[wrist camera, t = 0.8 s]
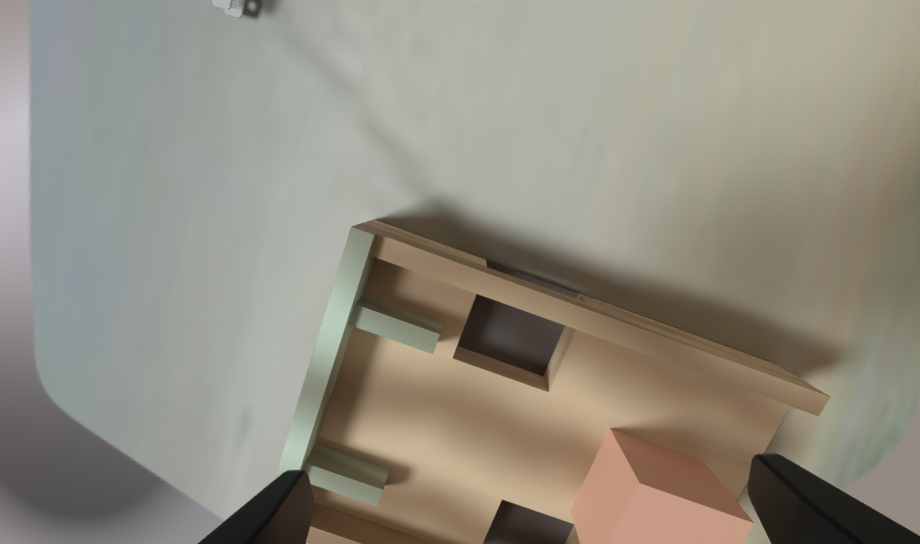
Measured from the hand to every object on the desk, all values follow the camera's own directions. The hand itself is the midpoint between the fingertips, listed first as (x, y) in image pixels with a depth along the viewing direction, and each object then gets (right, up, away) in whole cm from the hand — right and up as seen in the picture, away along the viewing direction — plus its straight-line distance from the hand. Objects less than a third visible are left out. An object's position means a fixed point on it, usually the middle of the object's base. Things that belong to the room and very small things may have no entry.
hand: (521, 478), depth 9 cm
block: (+8, -7, +13) cm, 16 cm away
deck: (+2, -4, +15) cm, 15 cm away
